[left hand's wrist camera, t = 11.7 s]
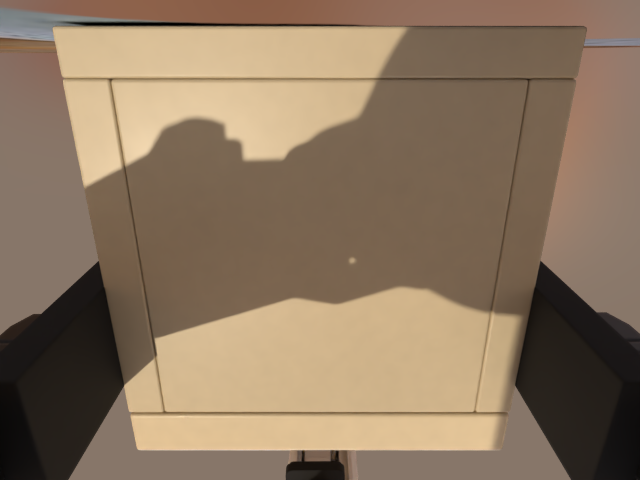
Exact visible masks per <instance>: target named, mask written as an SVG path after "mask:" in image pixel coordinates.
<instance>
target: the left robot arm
mask: <svg viewBox="0 0 640 480" xmlns="http://www.w3.org/2000/svg"><path fill="white" fill-rule="evenodd" d="M515 386H516V388H517V389H518V391H519V392H520V394H521V396H522V398H523V399H524V401H525V403H526V404H527V406H528V408H529V409H530V411H531V413H532V415H533V416H534V418H535V420H536V421H537V423H538V425H539V426H540V428H541V430H542V431H543V433H544V435H545V436H546V438H547V440H548V441H549V443H550V445H551V447H552V448H553V450H554V451H555V453H556V455H557V457H558V458H559V460H560V462H561V463H562V465H563V467H564V468H565V470H566V472H567V473H568V475H569V477H570V478H571V480H640V334H639V333H638V332H637V331H636V330H635V329H634V328H632V327H631V326H630V325H629V324H627V323H625V322H623V321H621V320H619V319H618V318H616V317H614V316H612V315H610V314H608V313H596V312H595V311H594V310H593V309H592V308H591V307H590V306H589V305H588V304H587V303H586V302H585V301H583V300H582V299H581V298H580V297H579V296H578V295H577V294H576V293H575V292H574V291H573V290H571V288H569V287H568V286H567V285H566V284H565V283H564V282H563V281H562V280H561V279H560V278H559V277H558V276H556V275H555V274H554V273H553V272H552V271H551V270H550V269H549V268H548V267H547V266H546V265H544V264H543V263H542V262H541V261H540V265H539V270H538V275H537V280H536V285H535V288H534V293H533V298H532V303H531V308H530V313H529V318H528V323H527V328H526V333H525V338H524V343H523V348H522V353H521V358H520V363H519V368H518V373H517V378H516V383H515ZM123 387H124V381H123V376H122V371H121V366H120V361H119V356H118V351H117V346H116V342H115V337H114V332H113V327H112V322H111V317H110V312H109V307H108V302H107V297H106V292H105V287H104V284H103V279H102V274H101V269H100V264H99V261H98V262H97V263H96V264H95V265H94V266H93V267H92V268H91V269H89V270H88V271H87V272H86V273H85V274H84V275H83V276H82V277H81V278H80V279H79V280H78V281H77V282H75V283H74V284H73V285H72V286H71V287H70V288H69V289H68V290H67V291H66V292H65V293H63V294H62V295H61V296H60V297H59V298H58V299H57V300H56V301H55V302H54V303H53V304H52V305H51V306H50V307H48V308H47V309H46V310H45V311H44V312H43V313H42V314H33V315H31V316H29V317H27V318H25V319H23V320H22V321H20V322H18V323H16V324H14V325H12V326H11V327H9V328H8V329H7V330H6V331H5V332H4V333H2V334H1V335H0V480H68V479H69V478H70V476H71V474H72V473H73V471H74V469H75V467H76V466H77V464H78V462H79V461H80V459H81V457H82V456H83V454H84V452H85V451H86V449H87V447H88V446H89V444H90V442H91V441H92V439H93V437H94V435H95V434H96V432H97V430H98V429H99V427H100V425H101V424H102V422H103V420H104V419H105V417H106V415H107V414H108V412H109V410H110V409H111V407H112V405H113V403H114V402H115V400H116V398H117V397H118V395H119V393H120V392H121V390H122V388H123Z"/></svg>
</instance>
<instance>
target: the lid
mask: <svg viewBox="0 0 640 480" xmlns="http://www.w3.org/2000/svg"><path fill="white" fill-rule="evenodd" d="M508 417H509V415H508V412H476V411H475V410H474V411H473V412H166V411H165V410H164V411H163V412H132V413H131V420H132V425H133V430H134V435H135V440H136V445H137V449H138V450H501V449H502V447H503V442H504V437H505V432H506V427H507V422H508Z"/></svg>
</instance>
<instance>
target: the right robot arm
mask: <svg viewBox="0 0 640 480" xmlns="http://www.w3.org/2000/svg"><path fill="white" fill-rule="evenodd" d="M286 480H358V471H357V461H356V451H355V450H290V456H289V464H288V465H287V468H286Z"/></svg>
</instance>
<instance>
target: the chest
mask: <svg viewBox="0 0 640 480" xmlns="http://www.w3.org/2000/svg"><path fill="white" fill-rule="evenodd" d="M586 32H587V28H586V27H584V26H55V27H53V34H54V39H55V44H56V49H57V54H58V59H59V64H60V69H61V74H62V76H63V77H64V78H66V79H64V80H63V85H64V90H65V95H66V100H67V105H68V110H69V115H70V120H71V125H72V130H73V135H74V140H75V145H76V150H77V155H78V160H79V164H80V169H81V174H82V179H83V184H84V189H85V194H86V199H87V204H88V209H89V214H90V219H91V224H92V229H93V234H94V239H95V244H96V249H97V254H98V259H99V264H100V269H101V274H102V279H103V284H104V287H105V292H106V297H107V302H108V307H109V312H110V317H111V322H112V327H113V332H114V337H115V342H116V346H117V351H118V356H119V361H120V366H121V371H122V376H123V381H124V388H125V393H126V398H127V403H128V408H129V411H130V412H163V411H164V410H165V411H166V412H473V411H474V410H475V411H476V412H509V411H510V409H511V404H512V399H513V394H514V389H515V383H516V378H517V373H518V368H519V363H520V358H521V353H522V348H523V343H524V338H525V333H526V328H527V323H528V318H529V313H530V308H531V303H532V298H533V293H534V288H535V285H536V280H537V275H538V270H539V265H540V260H541V255H542V250H543V245H544V240H545V235H546V230H547V225H548V220H549V215H550V210H551V205H552V200H553V195H554V190H555V185H556V180H557V175H558V170H559V165H560V160H561V156H562V150H563V145H564V141H565V136H566V131H567V126H568V121H569V116H570V111H571V106H572V101H573V96H574V91H575V86H576V80H574V78H576V77H577V76H578V72H579V67H580V62H581V57H582V51H583V47H584V42H585V37H586Z"/></svg>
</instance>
